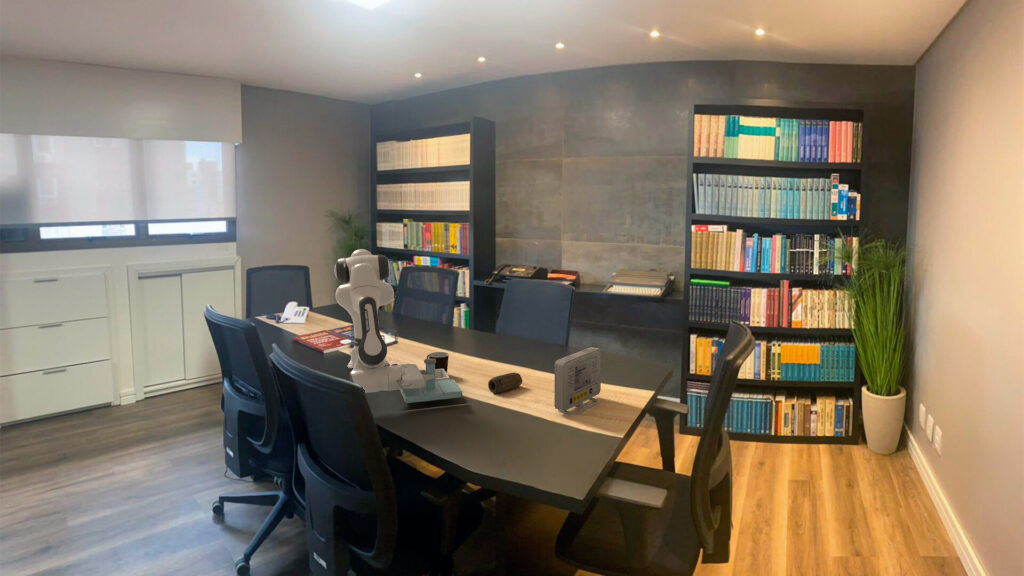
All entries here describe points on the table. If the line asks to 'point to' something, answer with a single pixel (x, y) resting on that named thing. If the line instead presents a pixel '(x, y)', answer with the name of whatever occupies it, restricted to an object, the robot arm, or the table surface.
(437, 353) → the coffee mug
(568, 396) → the network device
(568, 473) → the table surface
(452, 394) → the lid
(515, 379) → the hollow wooden cylinder
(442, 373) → the tub
